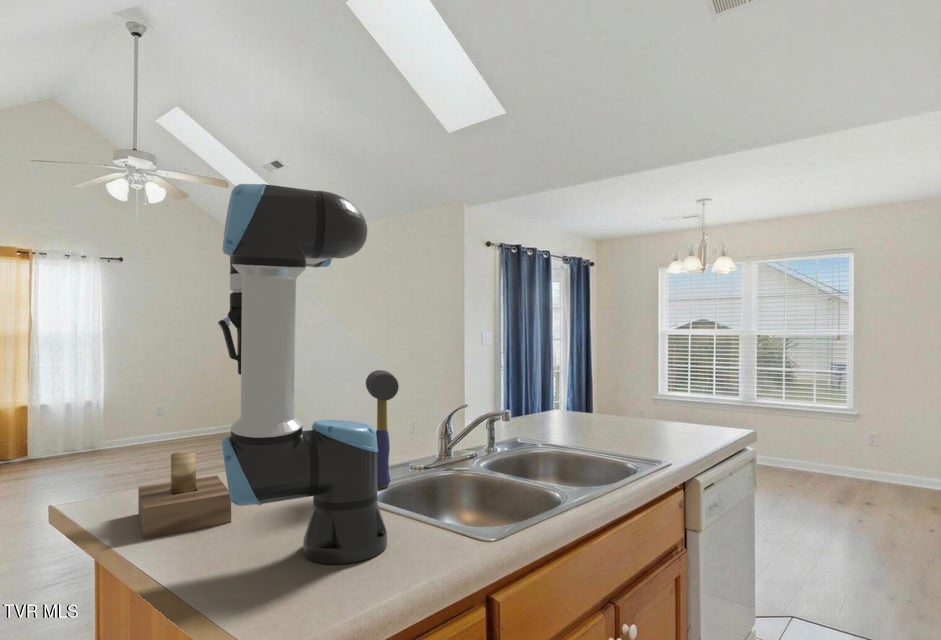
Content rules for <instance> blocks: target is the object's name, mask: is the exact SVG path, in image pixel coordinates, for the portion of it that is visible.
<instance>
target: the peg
mask: <svg viewBox="0 0 941 640" xmlns="http://www.w3.org/2000/svg"><path fill="white" fill-rule="evenodd" d="M196 478H197V452H196V451H194V450H185V451H177V452H174V453H171V454H170V482H171V493H173V494H180V493H187V492H193V491H194V490H196Z"/></svg>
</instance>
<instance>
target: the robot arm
mask: <svg viewBox="0 0 941 640" xmlns="http://www.w3.org/2000/svg"><path fill="white" fill-rule="evenodd" d="M228 201H229V202H228V207H227V211H226V212H227V213H226V219H225V225H224V232H223V241H222V253H223V254H224V255H226V256H229V266H230V268H229V269H230V270H229V290H230V291H231V293H230V294H229V312H228V313H227V316H226V317H225V318H223V319H221V320H218V321H217V324H218V326H219V327H220V329H221V330H222V332H223V337H224V340H225V344H226V345H225V346H226V348H227V352H228V356H229V359H232V360H234V361H236V362H237V374H238V375H240V417H239V418H238V419H236V421H235V422H234V423H232V425H231V426H230V436H226V437H224V438H222V440H221V441H220V442H221V448H222V454H223V455H222V456H223V462H224V469H225V474H226V481H227V484H226V485H227V489H228V490H229V497H230V500H231V504H234V505H235V506H238V507H245V506H253V505H254V506H256V505H257V506H261V505H264V504H269V503H271V504H272V503H277V502H284V501H291V500H297V499H303V498H311V497H312V504H313V506H312V507H313V508H312V511H311V515H310V517H309V521H308V524H307V528H306V530H305V534H304V537H303V542H302V543H303V546H302V551H303V555H304V557H305V558H306V559H308V560H310V561H313V562H315V563H320V564H326V565H327V564H328V565H342V564H343V565H345V564H351V563H357V562H362V561H365V560H368V559H371V558H373V557H376V556H378V555H380V554H381V553H383V552H384V551H385V550H386V548H387V546H388V531H387V527H386V524H385V521H384V519H383V516H382V513H381V510H380V507H379V503H378V487H377V452H378V448H377V437H376V431H377V430H375V428H374V427H373V426H371V425H369V424H368V423H363V422H357V421H353V420H341V419H323V420H321V419H320V420H315V421H313V423H312V425H311V430H303V422H302V420H300V419H299V418H298V417H297V415H295V411H294V409H295V406H294V405H295V362H296V360H295V359H296V358H295V357H296V351H295V350H296V309H297V307H296V306H297V305H296V304H297V303H296V301H297V299H296V298H297V297H296V296H297V295H296V294H297V278H298V277H299V276H300V275H301V274H303V272H304V271H306V269H307V268H306V267H311V268H327V267H329V266H330V265H331V263H332V260H333V259H345V258H349V257H351V256H354V255H356V254H357V253H358V252H359V251H360V250H361V249H362V248H363V246H364V245H365V243H366V241H367V237H368V224H367V221H366V218H365V217H364V215H363V213H362V212H361V210H360V209H359V208H358V207H357V206H356V205H355V204H354V203H352V201H350V200H348V199H346V198H345V197H343V196H341V195H339V194H337V193H333V192H330V191H325V190H312V189H304V188H297V187H289V186H283V185H282V186H281V185H274V184H265V183H262V184H261V183H259V184H258V183H239V184H238V185H236V186H235V187H233V189H232V190H231V193H230V196H229V200H228ZM230 322H231V323H232V325H233V326H234V327H235V329H236V333H237V336H236V337H237V339H236V341H237V345H236V346H237V350H236V347H235V345H234V340H233V336H232V332H231V330H230V325H231V323H230ZM236 351H237V352H236Z"/></svg>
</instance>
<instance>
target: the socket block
mask: <svg viewBox="0 0 941 640" xmlns="http://www.w3.org/2000/svg"><path fill="white" fill-rule="evenodd" d="M137 499H138V501H137V502H138V504H137V505H138V510H137V513H138V519H139V525H140V530H141V531H140V532H141V537H142V540H145V539H151V538H157V537H162V536H166V535H173V534H178V533H181V532H183V533H184V532H187V531H192V530H197V529H203V528H208V527H213V526H219V525H224V524H229V523H232V502H231V500H230V497H229V490H228V487H226V485H225V484H224V483H223V481H222V480H221V478H219V476H218V475H211V476H210V475H209V476H202V477H196V490H194V491H193V492H187V493H180V494H173V493H171V481H168V482H162V483H160V482H159V483H156V484H154V483H153V484H148V485H141V486H138V498H137Z"/></svg>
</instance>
